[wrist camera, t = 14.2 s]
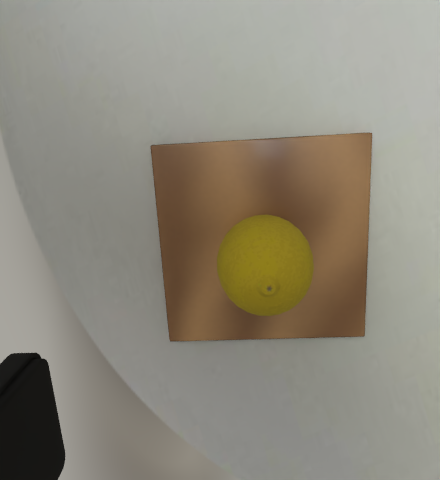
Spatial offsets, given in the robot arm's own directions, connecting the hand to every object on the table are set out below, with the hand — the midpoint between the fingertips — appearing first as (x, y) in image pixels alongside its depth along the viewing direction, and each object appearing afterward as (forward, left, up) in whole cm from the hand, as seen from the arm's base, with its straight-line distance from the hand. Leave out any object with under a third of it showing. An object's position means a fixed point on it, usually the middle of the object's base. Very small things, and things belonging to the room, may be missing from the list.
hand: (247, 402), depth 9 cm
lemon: (+1, -1, -19) cm, 19 cm away
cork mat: (+1, -1, -19) cm, 19 cm away
